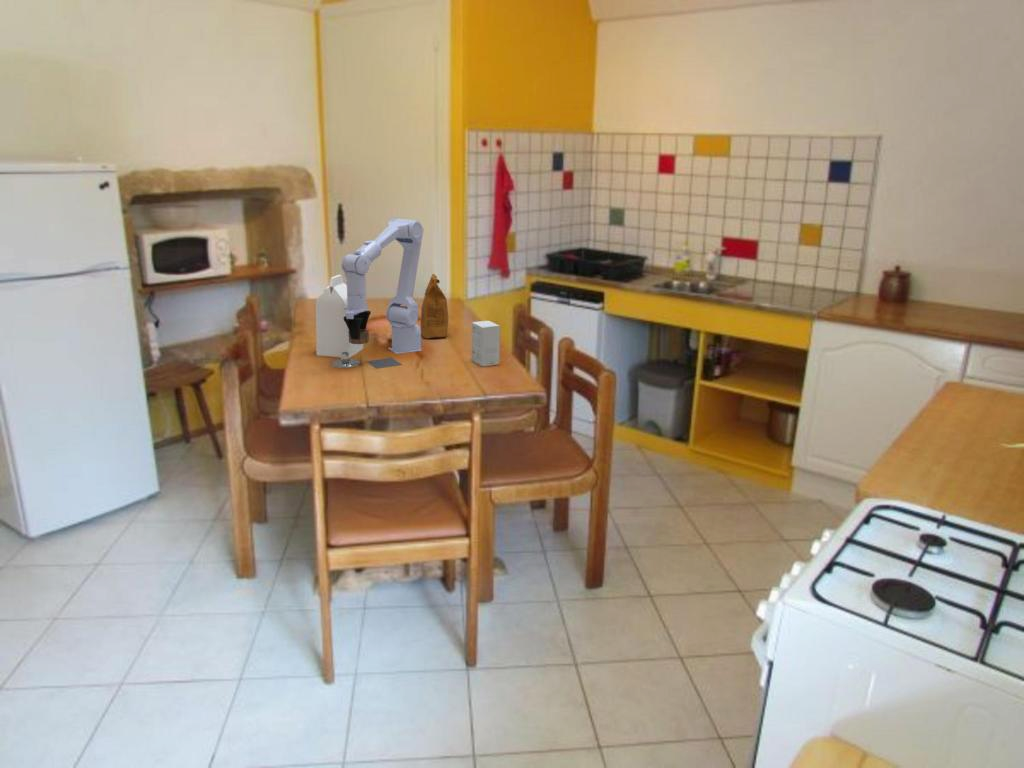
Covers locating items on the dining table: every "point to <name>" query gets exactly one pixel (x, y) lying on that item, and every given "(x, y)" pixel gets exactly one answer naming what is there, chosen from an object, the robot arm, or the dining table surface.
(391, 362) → the mat
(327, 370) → the dining table surface
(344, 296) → the milk
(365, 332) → the ring
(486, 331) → the small box
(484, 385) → the dining table surface
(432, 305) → the coffee package
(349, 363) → the hub
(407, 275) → the robot arm
